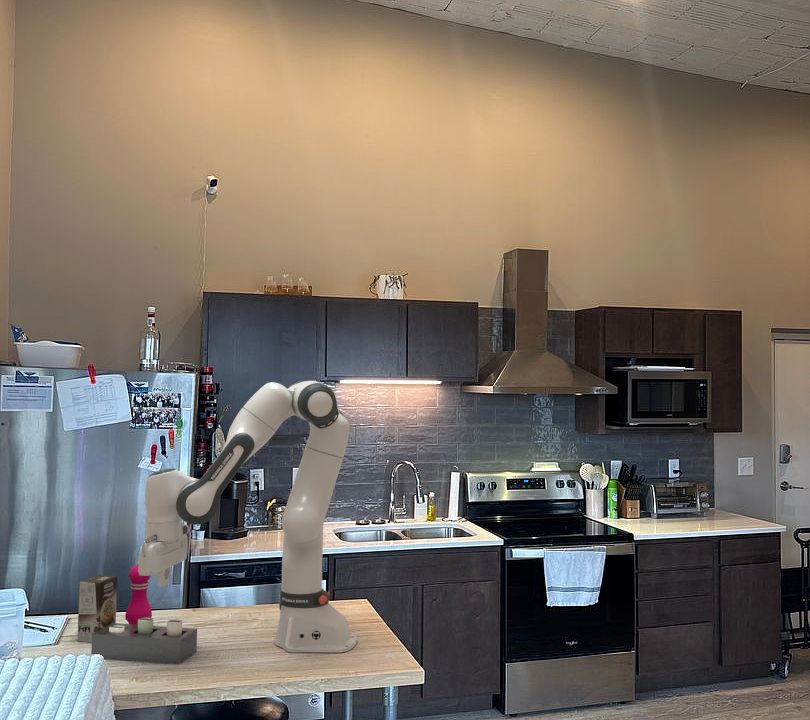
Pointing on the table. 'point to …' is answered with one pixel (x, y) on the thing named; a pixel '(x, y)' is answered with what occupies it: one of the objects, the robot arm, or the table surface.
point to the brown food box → (96, 605)
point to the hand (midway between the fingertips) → (163, 585)
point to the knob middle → (145, 626)
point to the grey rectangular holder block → (144, 644)
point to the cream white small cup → (174, 628)
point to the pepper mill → (138, 597)
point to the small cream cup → (116, 628)
